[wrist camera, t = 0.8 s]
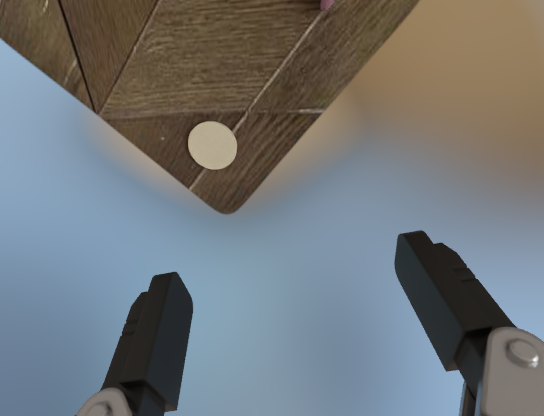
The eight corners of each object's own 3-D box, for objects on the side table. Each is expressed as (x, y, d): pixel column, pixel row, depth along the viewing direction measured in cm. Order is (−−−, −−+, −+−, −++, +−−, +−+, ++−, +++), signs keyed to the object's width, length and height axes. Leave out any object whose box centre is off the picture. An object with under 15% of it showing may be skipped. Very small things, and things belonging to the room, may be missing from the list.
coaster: (186, 119, 35) (185, 120, 34) (236, 121, 35) (236, 122, 34) (191, 167, 38) (190, 168, 37) (237, 169, 38) (237, 170, 37)
